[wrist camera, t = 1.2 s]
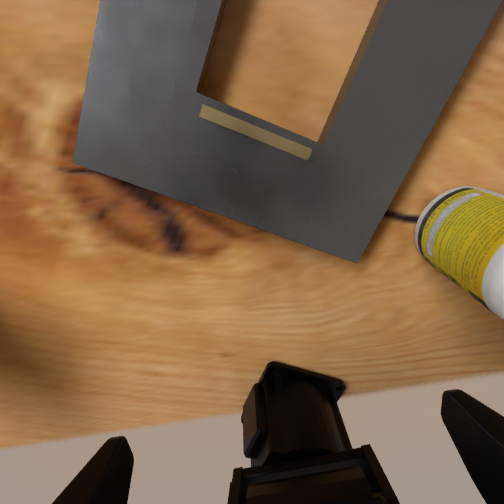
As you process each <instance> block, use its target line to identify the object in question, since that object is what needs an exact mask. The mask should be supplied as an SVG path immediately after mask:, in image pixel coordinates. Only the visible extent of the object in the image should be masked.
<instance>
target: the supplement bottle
mask: <svg viewBox="0 0 504 504" xmlns="http://www.w3.org/2000/svg"><path fill="white" fill-rule="evenodd" d="M415 244H416V247H417V249H418V251H419V253H420V254H421V256H422V257H423V258H424V259H425V260H426V261H427V262H429V263H430V264H431V265H432V266H433V267H435V268H436V269H438V270H439V271H440V272H441V273H443V274H444V275H445V276H447V277H448V278H449V279H450V280H452V281H453V282H454V283H456V284H457V285H458V286H459V287H461V288H462V289H463V290H465V291H466V292H467V293H469V294H470V295H471V296H472V297H474V298H475V299H476V300H477V301H479V302H480V303H481V304H483V305H484V306H485V307H486V308H487V309H488V310H490V311H492V312H493V313H495V314H496V315H497V316H499V317H500V318H501V319H503V320H504V195H503V194H499V193H496V192H493V191H490V190H487V189H482V188H479V187H474V186H462V187H457V188H453V189H451V190H448V191H446V192H444V193H442V194H440V195H439V196H437V197H436V198H434V199H433V200H432V201H431V202H430V203H429V204H428V205H427V206H426V208H425V209H424V210H423V212H422V213H421V215H420V217H419V219H418V221H417V224H416V228H415Z"/></svg>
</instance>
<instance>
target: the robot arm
mask: <svg viewBox="0 0 504 504" xmlns="http://www.w3.org/2000/svg"><path fill="white" fill-rule="evenodd" d="M271 368H275V369H271ZM337 386H339V387H337ZM344 390H345V385H344V382H343V381H342V380H339V379H336V378H332V377H328V376H325V375H321V374H318V373H314V372H311V371H307V370H303V369H300V368H296V367H293V366H289V365H285V364H282V363H278V362H270V363H268V364H267V366H266V368H265V370H264V372H263V374H262V376H261V378H260V380H259V382H258V383H256V384H255V385H254V386H253V388H252V390H251V392H250V394H249V396H248V398H247V400H246V402H245V404H244V406H243V414H242V416H241V422H242V423H243V437H244V438H243V443H244V455H245V457H246V458H251V467H250V468H244V469H243V468H242V467H240V468H235V469H234V471H233V479H232V482H230V490H229V497H228V504H400V503H399V501H398V499H397V497H396V495H395V493H394V491H393V489H392V487H391V485H390V483H389V481H388V479H387V477H386V475H385V473H384V472H383V469H382V467H381V465H380V463H379V461H378V459H377V457H376V455H375V453H374V452H373V450H372V448H371V446H370V444H368V445H363V446H361V448H356V449H352V446H351V443H350V440H349V437H348V434H347V432H346V429H345V426H344V423H343V420H342V417H341V414H340V411H339V408H338V405H337V401H338V400H339V398H340V397H341V395H342V393H343V392H344ZM441 416H442V419H443V422H444V424H445V426H446V428H447V430H448V432H449V434H450V436H451V438H452V440H453V442H454V444H455V446H456V448H457V450H458V452H459V454H460V456H461V458H462V460H463V462H464V464H465V466H466V468H467V470H468V472H469V474H470V476H471V478H472V480H473V482H474V483H475V485H476V487H477V488H478V490H479V492H480V494H481V495H482V497H483V498H484V500H485V502H486V503H487V504H504V417H503V416H502V415H500V414H499V413H497V412H495V411H494V410H492V409H490V408H489V407H487V406H486V405H484V404H483V403H481V402H479V401H478V400H476V399H475V398H473V397H471V396H470V395H468V394H467V393H465V392H463V391H462V390H458V389H455V390H448V391H445V392H444V393H443V396H442V407H441ZM133 463H134V458H133V454H132V451H131V449H130V446H129V444H128V442H127V440H126V438H125V437H124V436H119V437H112V438H110V439H108V440H107V441H106V442H105V443H104V445H103V446H102V447H101V448H100V449H99V450H98V451H97V453H96V454H95V455H94V456H93V457H92V458H91V459H90V461H89V462H88V463H87V464H86V465H85V466H84V467H83V469H82V470H81V471H80V472H79V473H78V474H77V476H76V477H75V478H74V479H73V480H72V481H71V482H70V484H69V485H68V486H67V487H66V488H65V489H64V490H63V492H62V493H61V494H60V495H59V496H58V497H57V498H56V500H55V501H54V502H53V503H52V504H127V501H128V495H129V488H130V482H131V476H132V470H133Z"/></svg>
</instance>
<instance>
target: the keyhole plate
mask: <svg viewBox="0 0 504 504" xmlns="http://www.w3.org/2000/svg"><path fill="white" fill-rule="evenodd" d="M502 1H503V0H379V2H378V4H377V7H376V9H375V11H374V13H373V16H372V18H371V20H370V23H369V25H368V27H367V30H366V32H365V34H364V36H363V39H362V41H361V43H360V46H359V48H358V50H357V53H356V55H355V57H354V59H353V62H352V64H351V66H350V69H349V71H348V73H347V75H346V78H345V80H344V82H343V85H342V87H341V89H340V92H339V94H338V96H337V98H336V101H335V103H334V105H333V108H332V110H331V112H330V115H329V117H328V119H327V121H326V124H325V126H324V128H323V131H322V133H321V135H320V138H319V140H318V142H315V141H312V140H310V139H308V138H305V137H303V136H300V135H298V134H296V133H293V132H291V131H288V130H286V129H284V128H281V127H279V126H276V125H274V124H272V123H269V122H267V121H264V120H262V119H260V118H257V117H255V116H252V115H250V114H248V113H245V112H243V111H240V110H238V109H236V108H233V107H231V106H228V105H226V104H224V103H221V102H219V101H216V100H214V99H212V98H209V97H207V96H204V95H202V94H200V90H201V86H202V83H203V79H204V76H205V72H206V69H207V65H208V62H209V58H210V55H211V52H212V48H213V45H214V41H215V38H216V34H217V31H218V27H219V24H220V20H221V17H222V14H223V10H224V7H225V3H226V0H100V4H99V10H98V16H97V22H96V28H95V34H94V39H93V45H92V51H91V57H90V63H89V69H88V75H87V81H86V87H85V93H84V99H83V105H82V111H81V116H80V122H79V128H78V134H77V140H76V146H75V152H74V158H73V163H75V164H77V165H80V166H83V167H86V168H89V169H92V170H94V171H97V172H100V173H103V174H106V175H109V176H111V177H114V178H117V179H120V180H123V181H126V182H128V183H131V184H134V185H137V186H140V187H143V188H145V189H148V190H151V191H154V192H157V193H160V194H162V195H165V196H168V197H171V198H174V199H177V200H179V201H182V202H185V203H188V204H191V205H193V206H196V207H199V208H202V209H205V210H208V211H210V212H213V213H216V214H219V215H222V216H225V217H227V218H230V219H233V220H236V221H239V222H242V223H244V224H247V225H250V226H253V227H256V228H259V229H261V230H264V231H267V232H270V233H273V234H276V235H278V236H281V237H284V238H287V239H290V240H293V241H295V242H298V243H301V244H304V245H307V246H310V247H312V248H315V249H318V250H321V251H324V252H327V253H329V254H332V255H335V256H338V257H341V258H344V259H346V260H349V261H352V262H355V263H358V261H359V259H360V258H361V256H362V254H363V252H364V250H365V249H366V247H367V245H368V243H369V241H370V240H371V238H372V236H373V234H374V232H375V231H376V229H377V227H378V225H379V223H380V222H381V220H382V218H383V216H384V214H385V212H386V211H387V209H388V207H389V205H390V203H391V202H392V200H393V198H394V196H395V194H396V193H397V191H398V189H399V187H400V185H401V184H402V182H403V180H404V178H405V176H406V175H407V173H408V171H409V169H410V167H411V165H412V164H413V162H414V160H415V158H416V156H417V155H418V153H419V151H420V149H421V147H422V146H423V144H424V142H425V140H426V138H427V137H428V135H429V133H430V131H431V129H432V128H433V126H434V124H435V122H436V120H437V118H438V117H439V115H440V113H441V111H442V109H443V108H444V106H445V104H446V102H447V100H448V99H449V97H450V95H451V93H452V91H453V90H454V88H455V86H456V84H457V82H458V81H459V79H460V77H461V75H462V73H463V72H464V70H465V68H466V66H467V64H468V62H469V61H470V59H471V57H472V55H473V53H474V52H475V50H476V48H477V46H478V44H479V43H480V41H481V39H482V37H483V35H484V34H485V32H486V30H487V28H488V26H489V25H490V23H491V21H492V19H493V17H494V15H495V14H496V12H497V10H498V8H499V6H500V5H501V3H502Z"/></svg>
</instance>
